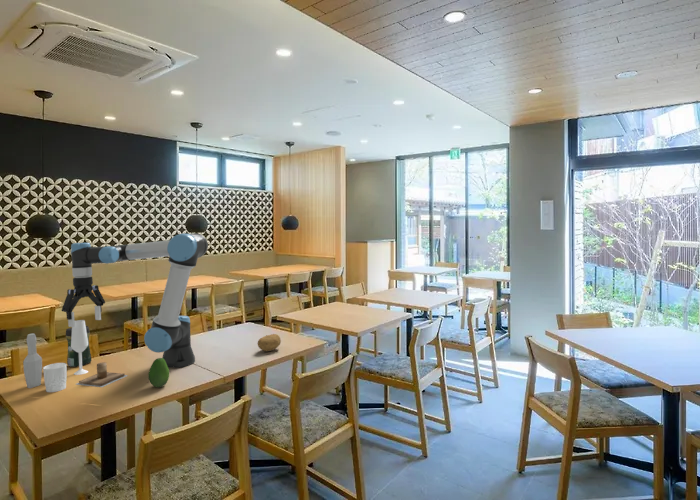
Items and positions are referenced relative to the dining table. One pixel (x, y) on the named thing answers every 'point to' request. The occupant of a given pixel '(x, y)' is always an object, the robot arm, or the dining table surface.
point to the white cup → (55, 377)
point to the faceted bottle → (32, 363)
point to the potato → (269, 342)
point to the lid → (101, 376)
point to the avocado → (158, 373)
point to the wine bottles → (73, 355)
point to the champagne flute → (79, 342)
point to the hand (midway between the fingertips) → (85, 323)
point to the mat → (103, 385)
